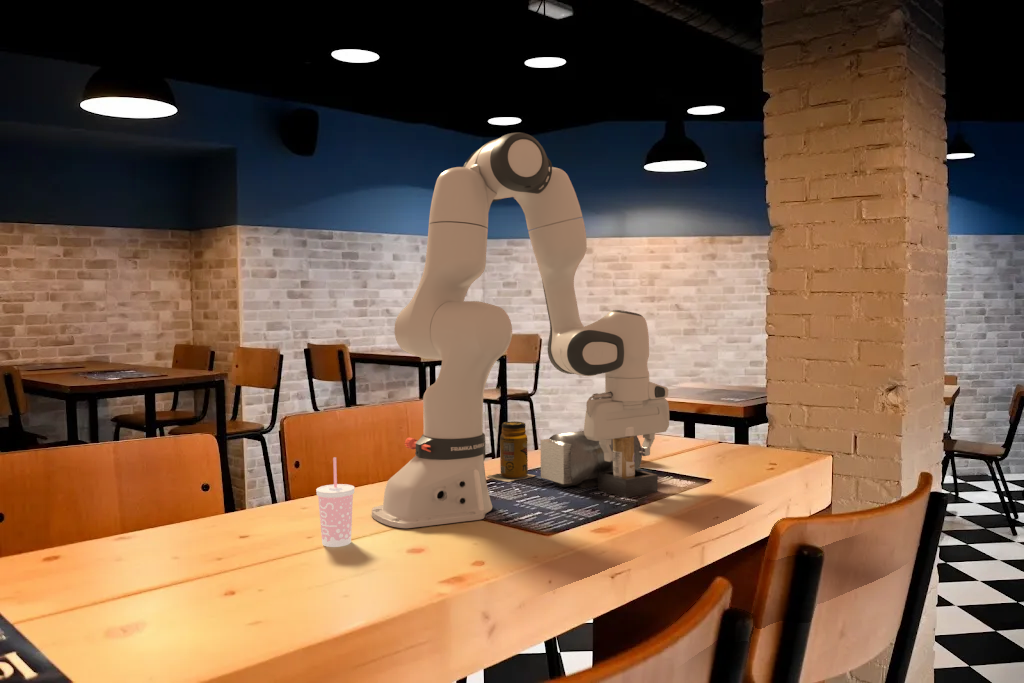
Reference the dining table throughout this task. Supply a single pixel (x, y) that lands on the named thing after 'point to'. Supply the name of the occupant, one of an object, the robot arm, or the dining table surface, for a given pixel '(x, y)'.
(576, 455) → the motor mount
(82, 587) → the dining table surface
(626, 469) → the sprinkles bottle
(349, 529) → the beverage cup
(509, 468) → the condiment
